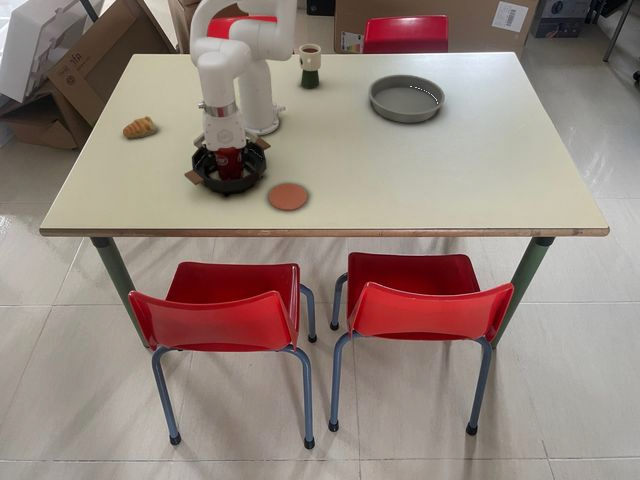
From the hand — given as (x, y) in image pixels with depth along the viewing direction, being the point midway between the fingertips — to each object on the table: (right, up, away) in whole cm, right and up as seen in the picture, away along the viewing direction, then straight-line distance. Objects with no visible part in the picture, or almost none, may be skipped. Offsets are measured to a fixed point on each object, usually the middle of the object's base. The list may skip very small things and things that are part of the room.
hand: (229, 163), depth 127 cm
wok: (0, -3, +3) cm, 4 cm away
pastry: (-30, +12, +17) cm, 36 cm away
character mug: (+21, +33, +37) cm, 54 cm away
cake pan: (+52, +24, +29) cm, 65 cm away
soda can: (0, -3, +3) cm, 5 cm away
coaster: (+16, -9, -2) cm, 19 cm away
